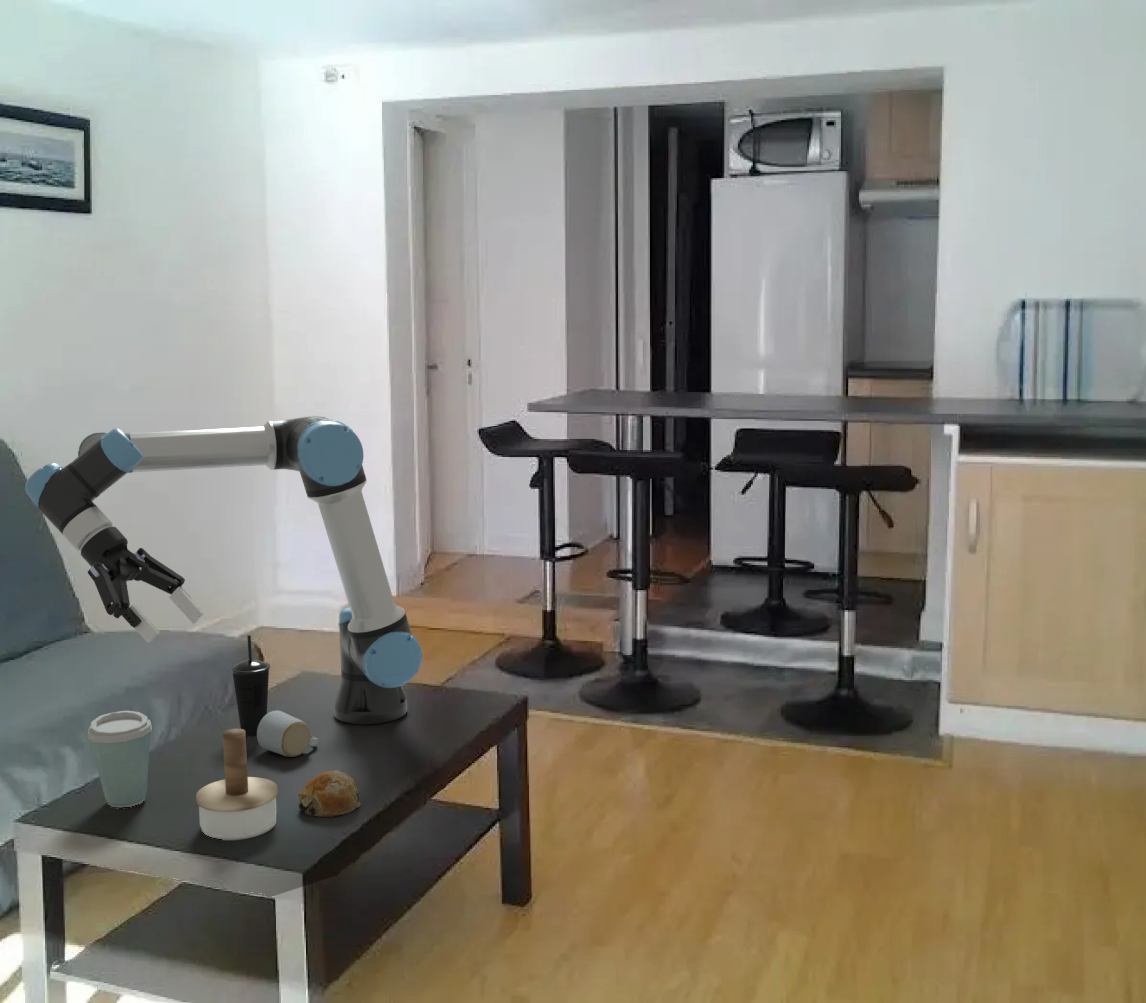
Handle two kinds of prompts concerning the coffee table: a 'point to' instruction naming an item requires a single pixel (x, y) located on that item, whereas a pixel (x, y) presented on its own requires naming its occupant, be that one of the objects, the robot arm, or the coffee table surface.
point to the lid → (236, 781)
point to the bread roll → (329, 795)
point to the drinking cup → (251, 691)
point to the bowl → (238, 822)
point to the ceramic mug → (284, 734)
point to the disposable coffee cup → (122, 756)
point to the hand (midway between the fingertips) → (177, 628)
